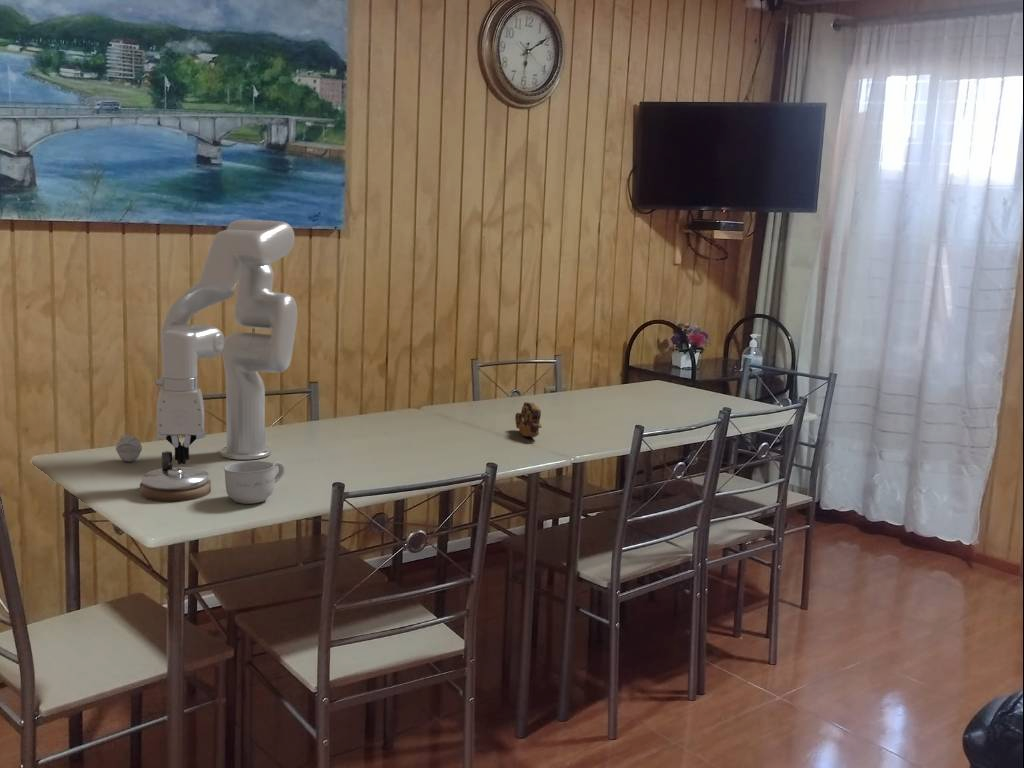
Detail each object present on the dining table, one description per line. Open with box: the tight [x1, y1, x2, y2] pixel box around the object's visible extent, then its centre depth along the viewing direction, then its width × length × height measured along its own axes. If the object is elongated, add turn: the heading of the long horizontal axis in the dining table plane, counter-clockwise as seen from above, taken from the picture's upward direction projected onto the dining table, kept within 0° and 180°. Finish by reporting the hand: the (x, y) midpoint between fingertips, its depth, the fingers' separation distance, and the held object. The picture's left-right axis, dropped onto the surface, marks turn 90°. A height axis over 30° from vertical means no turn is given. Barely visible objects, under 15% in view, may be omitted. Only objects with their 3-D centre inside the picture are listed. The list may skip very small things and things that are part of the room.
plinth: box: [139, 478, 212, 503], centre depth 222 cm, size 15×15×2 cm
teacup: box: [223, 460, 285, 505], centre depth 219 cm, size 14×11×8 cm
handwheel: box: [141, 450, 209, 491], centre depth 221 cm, size 14×14×6 cm
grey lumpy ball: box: [115, 434, 143, 463], centre depth 244 cm, size 6×7×7 cm
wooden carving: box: [514, 401, 542, 438], centre depth 289 cm, size 16×5×10 cm, turn 23°
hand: (182, 462), depth 227 cm, fingers closed
